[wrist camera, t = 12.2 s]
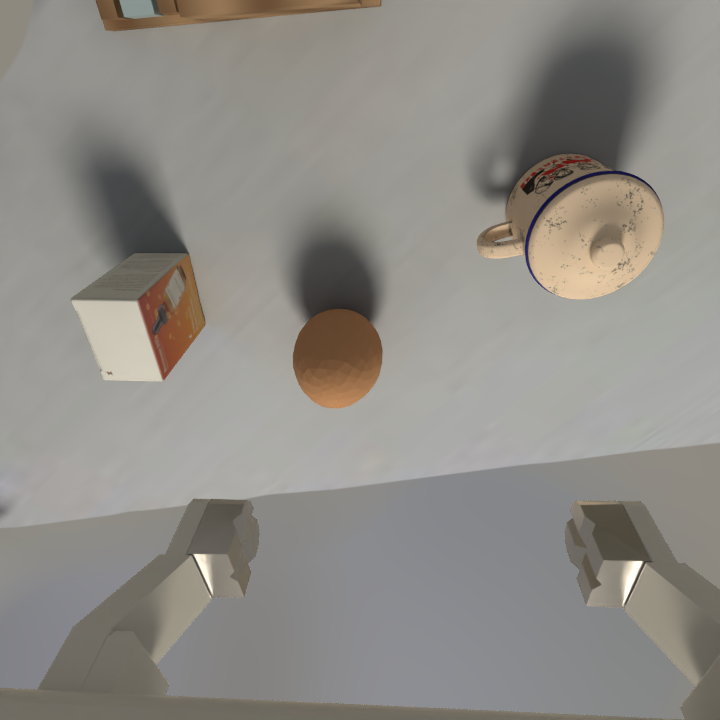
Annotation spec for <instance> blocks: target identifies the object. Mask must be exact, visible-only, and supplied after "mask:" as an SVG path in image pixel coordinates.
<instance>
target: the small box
mask: <svg viewBox="0 0 720 720" xmlns="http://www.w3.org/2000/svg"><path fill="white" fill-rule="evenodd" d="M71 302H72V304H73V306H74V309H75V310H76V312H77V314H78V317H79V319H80V321H81V324H82V326H83V328H84V331H85V333H86V336H87V338H88V341H89V343H90V345H91V348H92V351H93V353H94V356H95V358H96V361H97V363H98V366H99V369H100V372H101V375H102V378H103V380H125V381H164V380H165V378H166V377H167V376H168V374H169V373H170V372H171V370H172V369H173V368H174V366H175V365H176V364H177V362H178V361H179V360H180V358H181V357H182V356H183V354H184V353H185V352H186V350H187V349H188V348H189V346H190V345H191V344H192V342H193V341H194V340H195V338H196V337H197V336H198V334H199V333H200V332H201V330H202V329H203V328H204V326H205V320H204V316H203V313H202V309H201V305H200V301H199V297H198V292H197V288H196V283H195V279H194V275H193V270H192V266H191V261H190V256H189V254H188V253H134V254H133V255H131V256H130V257H128V258H127V259H126V260H124V261H123V262H121V263H120V264H119V265H117V266H116V267H114V268H113V269H111V270H110V271H109V272H107V273H106V274H104V275H103V276H102V277H100V278H99V279H97V280H96V281H95V282H93V283H92V284H90V285H89V286H88V287H86V288H85V289H83V290H82V291H81V292H79V293H78V294H76V295H75V296H74V297H72V298H71Z"/></svg>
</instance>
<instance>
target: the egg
mask: <svg viewBox="0 0 720 720" xmlns="http://www.w3.org/2000/svg"><path fill="white" fill-rule="evenodd" d="M381 364H382V345H381V340H380V338H379V335H378V333H377V331H376V330H375V328H374V326H373V325H372V324H371V323H370V322H369V321H368V320H367V319H366V318H365V317H364V316H362V315H360V314H359V313H357V312H355V311H351V310H347V309H331V310H326V311H324V312H321V313H319V314H317V315H316V316H314V317H313V318H312V319H310V320H309V321H308V322H307V323H306V325H305V326H304V327H303V328H302V330H301V331H300V333H299V335H298V338H297V340H296V343H295V348H294V353H293V368H294V371H295V375H296V378H297V380H298V383H299V385H300V387H301V388H302V390H303V391H304V393H305V394H306V395H307V396H308V397H309V398H310V399H311V400H312V401H313V402H315V403H317V404H319V405H321V406H323V407H327V408H343V407H347V406H350V405H352V404H354V403H355V402H357V401H359V400H360V399H361V398H363V397H364V396H365V395H366V394H367V393H368V392H369V391H370V389H371V388H372V387H373V386H374V384H375V382H376V380H377V378H378V376H379V373H380V369H381Z"/></svg>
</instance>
